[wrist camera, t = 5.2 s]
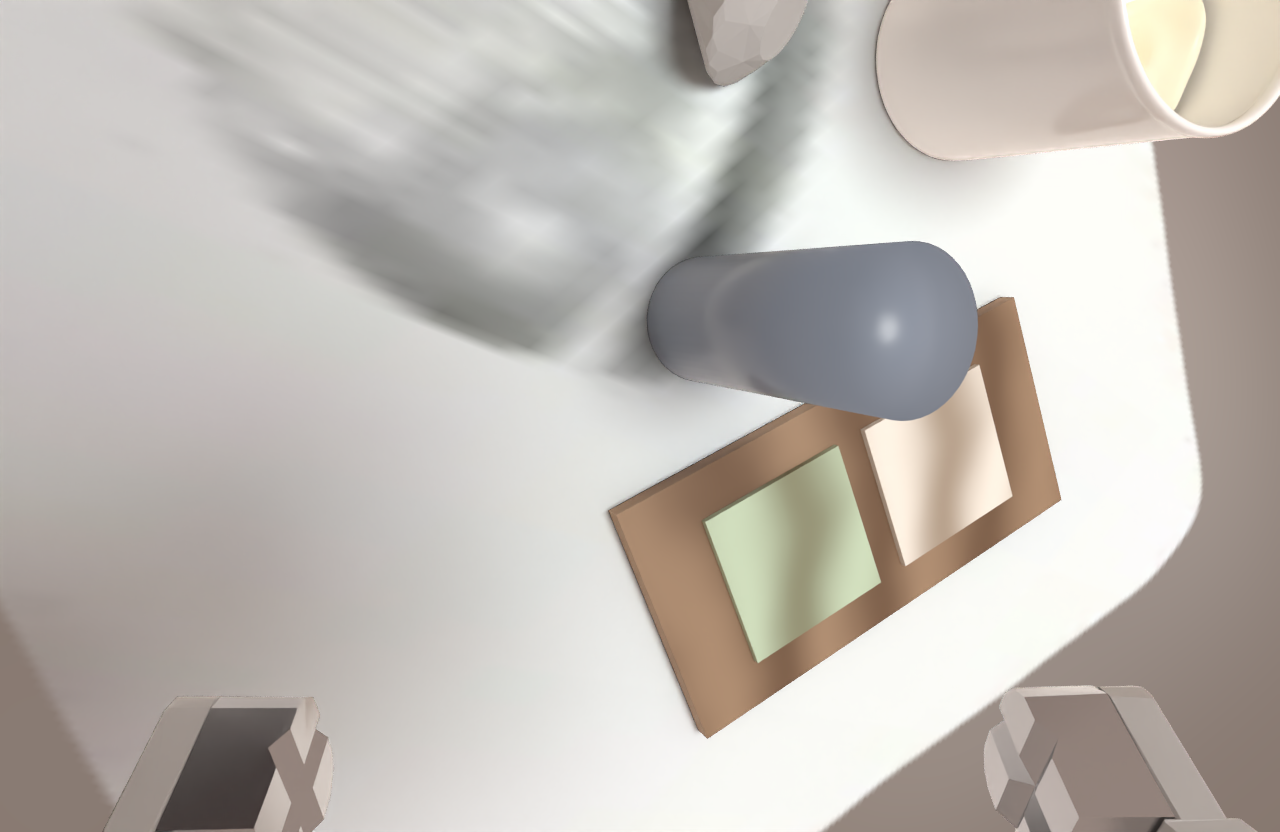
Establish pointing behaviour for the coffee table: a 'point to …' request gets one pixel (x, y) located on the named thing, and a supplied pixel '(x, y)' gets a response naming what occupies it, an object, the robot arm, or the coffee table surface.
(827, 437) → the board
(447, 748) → the coffee table surface
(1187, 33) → the candle holder
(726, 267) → the post
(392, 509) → the coffee table surface
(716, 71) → the gemstone
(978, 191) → the coffee table surface
